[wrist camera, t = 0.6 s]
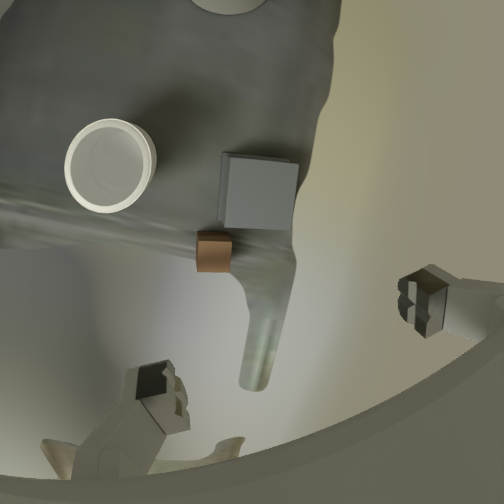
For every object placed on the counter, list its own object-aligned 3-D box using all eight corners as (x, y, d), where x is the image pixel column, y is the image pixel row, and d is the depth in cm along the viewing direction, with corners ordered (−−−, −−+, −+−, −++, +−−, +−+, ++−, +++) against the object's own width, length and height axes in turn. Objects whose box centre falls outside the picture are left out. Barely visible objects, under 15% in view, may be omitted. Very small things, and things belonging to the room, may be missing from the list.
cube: (197, 231, 50) (198, 241, 46) (227, 232, 51) (232, 241, 47) (195, 259, 52) (197, 272, 47) (225, 260, 53) (229, 272, 48)
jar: (113, 115, 41) (84, 106, 27) (172, 138, 44) (167, 138, 30) (88, 178, 43) (52, 196, 29) (145, 201, 46) (130, 227, 33)
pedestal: (222, 152, 46) (227, 154, 41) (288, 158, 49) (302, 161, 44) (216, 219, 50) (221, 230, 45) (280, 222, 53) (292, 232, 47)
